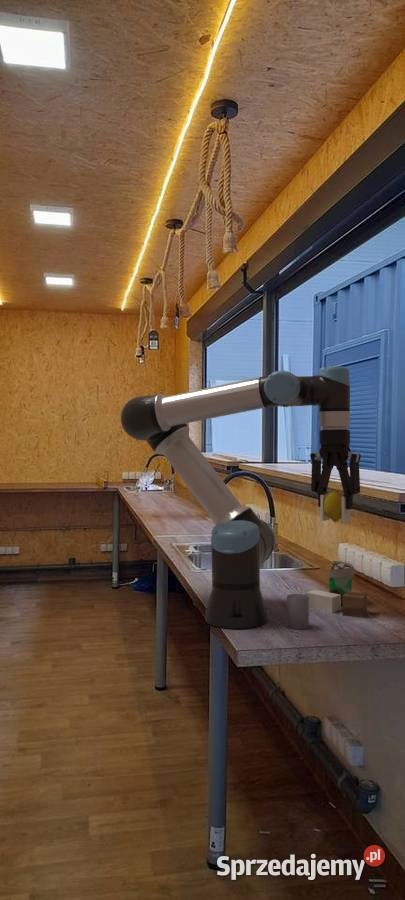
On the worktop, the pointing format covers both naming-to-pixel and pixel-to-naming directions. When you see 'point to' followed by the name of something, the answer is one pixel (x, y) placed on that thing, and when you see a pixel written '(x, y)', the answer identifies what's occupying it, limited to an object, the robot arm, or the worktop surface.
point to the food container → (341, 578)
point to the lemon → (333, 506)
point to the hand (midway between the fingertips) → (335, 521)
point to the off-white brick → (324, 601)
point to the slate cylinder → (297, 611)
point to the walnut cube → (354, 604)
